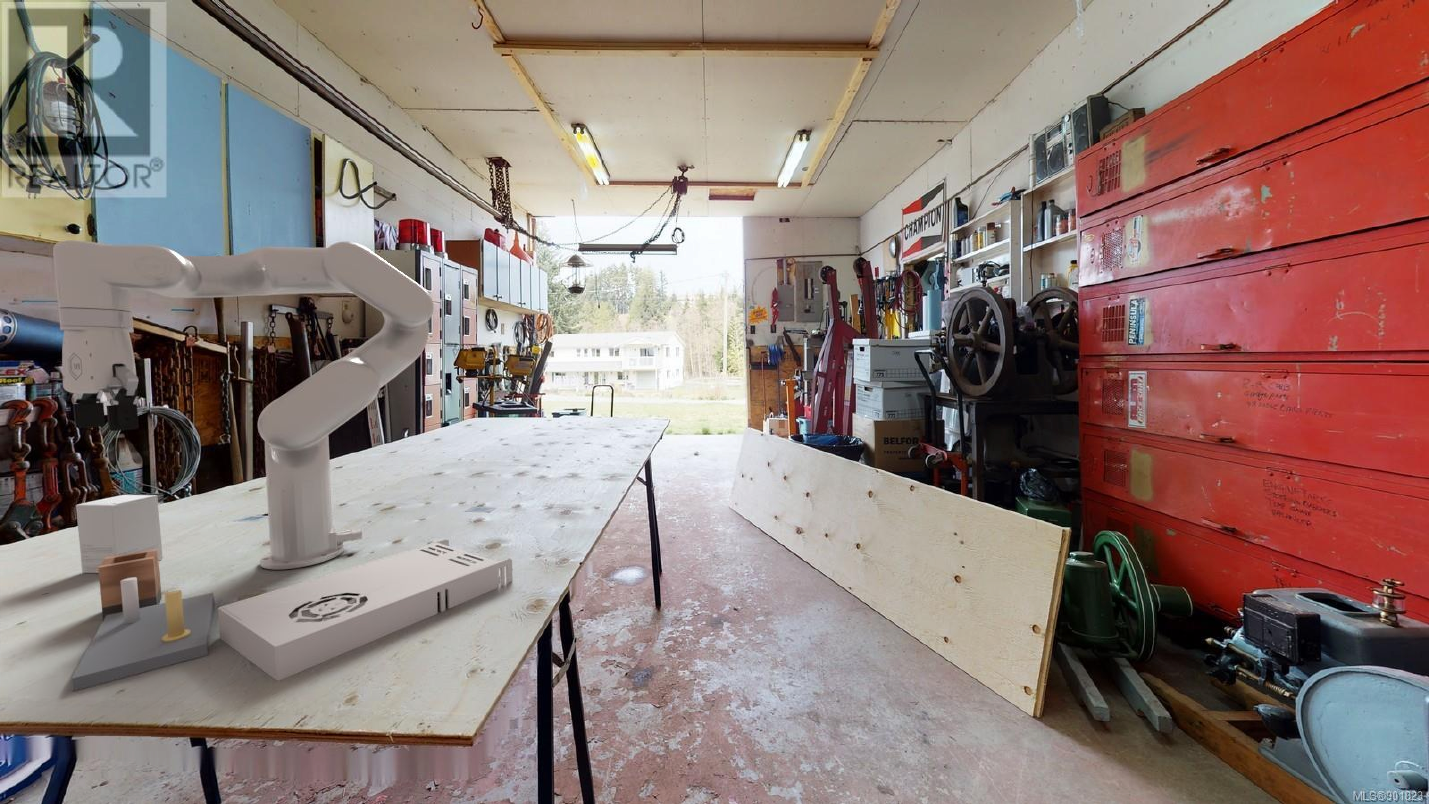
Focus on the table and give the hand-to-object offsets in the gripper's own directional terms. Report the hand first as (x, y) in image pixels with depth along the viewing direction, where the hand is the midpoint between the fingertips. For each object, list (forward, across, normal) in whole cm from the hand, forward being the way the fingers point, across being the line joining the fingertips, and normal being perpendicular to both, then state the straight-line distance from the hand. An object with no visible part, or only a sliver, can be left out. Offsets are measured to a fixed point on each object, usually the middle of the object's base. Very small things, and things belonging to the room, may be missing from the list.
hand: (107, 428), depth 83 cm
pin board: (+27, +26, -7) cm, 38 cm away
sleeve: (+27, +11, -3) cm, 29 cm away
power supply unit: (+28, +46, +10) cm, 55 cm away
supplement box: (+27, -14, +6) cm, 31 cm away
